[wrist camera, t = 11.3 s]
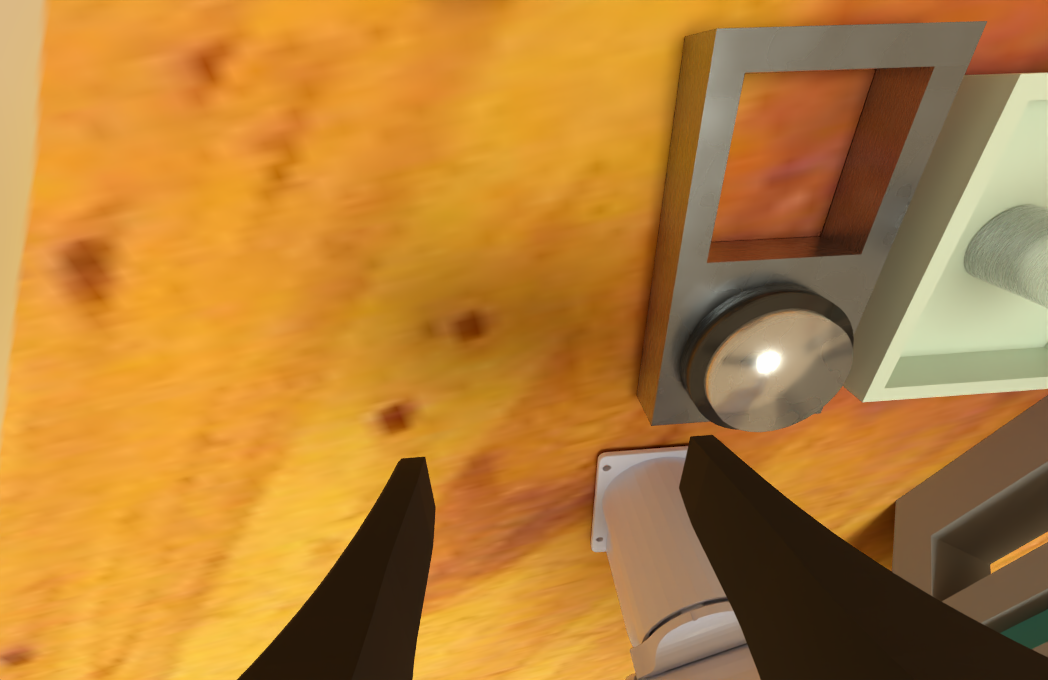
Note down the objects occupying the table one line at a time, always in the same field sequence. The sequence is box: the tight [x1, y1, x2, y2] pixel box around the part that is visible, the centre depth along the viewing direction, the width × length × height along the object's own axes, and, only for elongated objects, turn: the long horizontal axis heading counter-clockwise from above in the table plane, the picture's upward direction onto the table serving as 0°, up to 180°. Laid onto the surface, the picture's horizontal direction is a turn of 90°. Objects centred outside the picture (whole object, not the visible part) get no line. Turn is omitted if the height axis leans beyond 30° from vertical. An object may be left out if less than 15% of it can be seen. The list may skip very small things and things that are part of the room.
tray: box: [842, 72, 1048, 402], centre depth 19 cm, size 14×13×3 cm
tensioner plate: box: [637, 21, 987, 432], centre depth 18 cm, size 16×9×4 cm, turn 2°
